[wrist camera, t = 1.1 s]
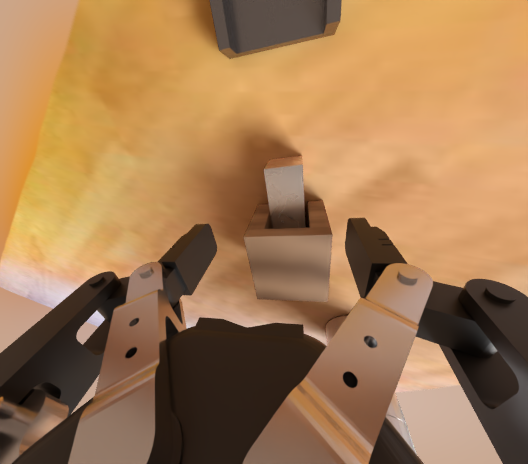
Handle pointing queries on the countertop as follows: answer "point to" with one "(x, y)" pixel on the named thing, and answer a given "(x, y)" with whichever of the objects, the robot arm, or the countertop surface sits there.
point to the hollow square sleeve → (290, 256)
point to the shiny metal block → (285, 192)
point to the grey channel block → (271, 23)
